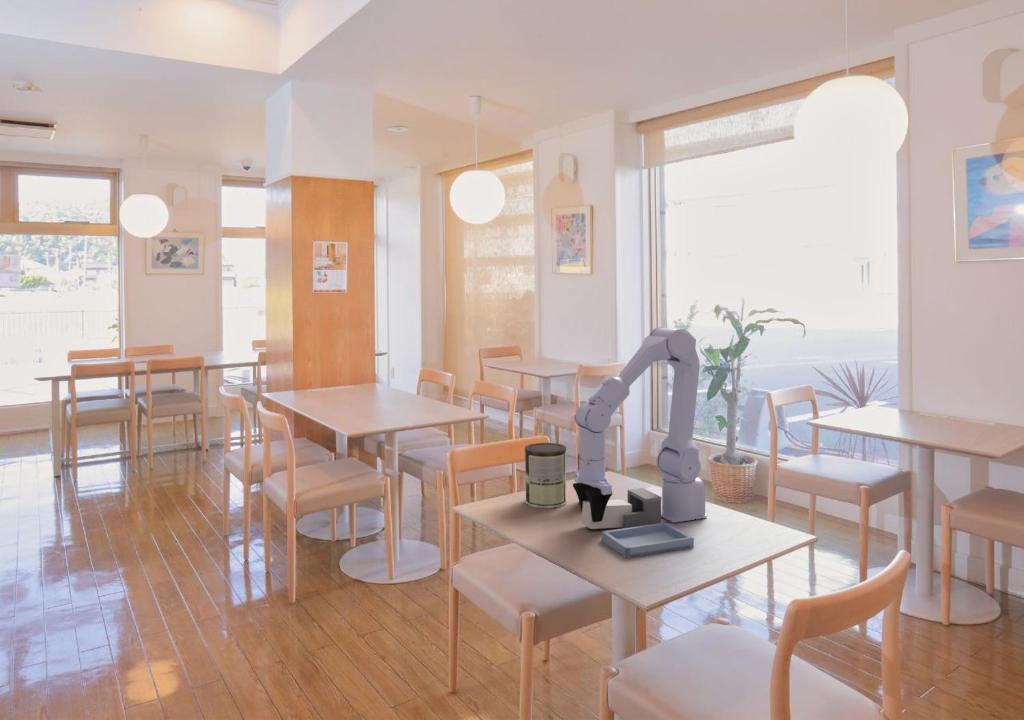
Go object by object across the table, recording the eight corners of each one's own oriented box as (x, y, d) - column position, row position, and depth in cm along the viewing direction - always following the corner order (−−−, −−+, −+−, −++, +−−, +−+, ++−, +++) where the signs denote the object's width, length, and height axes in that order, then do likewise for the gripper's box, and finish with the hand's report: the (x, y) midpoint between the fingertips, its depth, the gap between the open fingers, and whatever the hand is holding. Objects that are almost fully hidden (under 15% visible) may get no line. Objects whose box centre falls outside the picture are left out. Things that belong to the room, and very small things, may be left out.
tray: (665, 531, 158) (665, 522, 158) (693, 547, 148) (693, 537, 148) (601, 540, 152) (601, 531, 152) (626, 558, 143) (626, 548, 142)
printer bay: (642, 515, 169) (642, 487, 168) (661, 525, 162) (661, 497, 161) (608, 519, 166) (608, 492, 165) (625, 530, 159) (625, 501, 158)
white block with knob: (620, 520, 165) (622, 496, 165) (630, 526, 161) (632, 502, 161) (581, 522, 162) (583, 498, 161) (590, 529, 157) (592, 503, 157)
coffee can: (517, 501, 182) (516, 446, 180) (550, 494, 187) (550, 440, 186) (540, 511, 173) (540, 453, 172) (574, 504, 178) (574, 448, 177)
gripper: (561, 452, 164) (562, 510, 165) (590, 467, 150) (590, 530, 152) (589, 449, 166) (589, 507, 168) (620, 463, 153) (620, 526, 154)
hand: (592, 517), depth 160 cm, fingers closed on white block with knob, 4 cm apart
